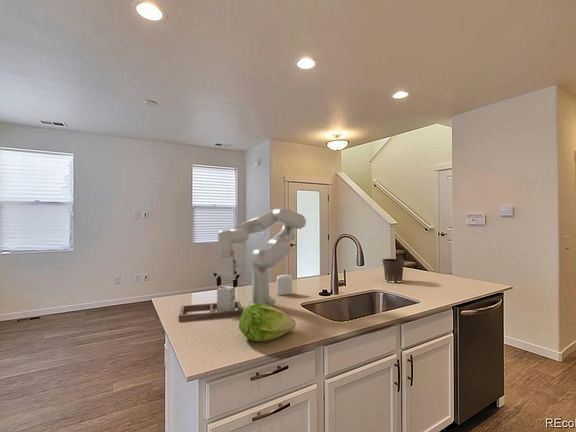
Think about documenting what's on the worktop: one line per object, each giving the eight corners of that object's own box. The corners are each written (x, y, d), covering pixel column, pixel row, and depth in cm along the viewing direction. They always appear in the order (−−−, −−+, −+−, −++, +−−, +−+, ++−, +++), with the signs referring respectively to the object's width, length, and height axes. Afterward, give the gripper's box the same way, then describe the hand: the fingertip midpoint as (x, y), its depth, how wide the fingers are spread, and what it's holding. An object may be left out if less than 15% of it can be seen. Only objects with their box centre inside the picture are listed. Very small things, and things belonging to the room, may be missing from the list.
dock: (242, 315, 149) (242, 310, 148) (178, 321, 141) (178, 316, 141) (239, 305, 164) (239, 301, 164) (181, 310, 156) (181, 305, 156)
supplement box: (229, 314, 150) (229, 289, 150) (216, 313, 151) (216, 289, 151) (235, 310, 157) (235, 286, 157) (222, 308, 159) (222, 285, 159)
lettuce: (279, 336, 135) (295, 355, 121) (231, 326, 124) (242, 346, 110) (291, 306, 136) (308, 321, 122) (244, 294, 125) (257, 310, 111)
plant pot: (383, 283, 217) (383, 261, 217) (380, 278, 233) (380, 258, 233) (407, 284, 214) (407, 262, 214) (402, 279, 230) (402, 258, 230)
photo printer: (277, 295, 184) (277, 276, 184) (275, 294, 188) (275, 274, 188) (293, 294, 187) (293, 275, 187) (291, 292, 191) (291, 273, 191)
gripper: (244, 253, 155) (245, 285, 155) (215, 252, 160) (217, 283, 161) (237, 255, 147) (238, 289, 148) (207, 254, 153) (208, 287, 154)
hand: (227, 286), depth 154 cm, fingers open, 9 cm apart
